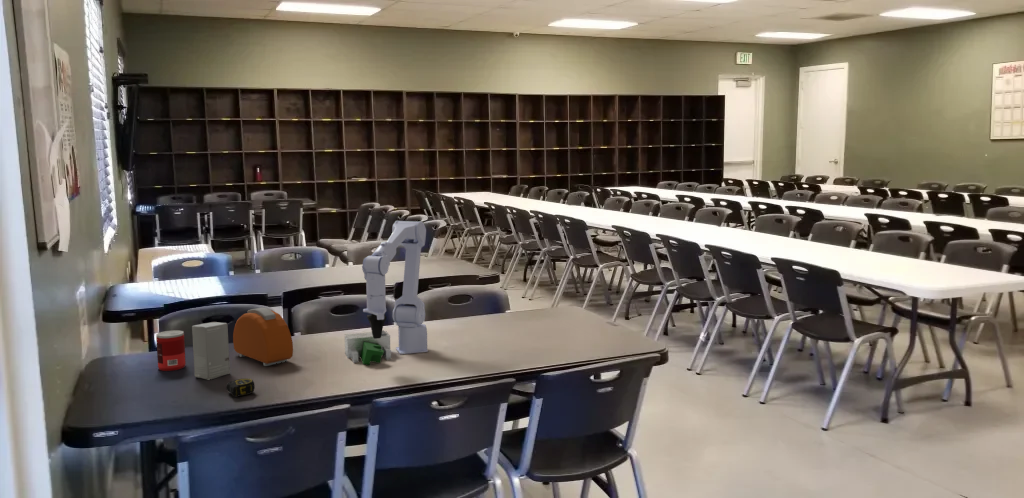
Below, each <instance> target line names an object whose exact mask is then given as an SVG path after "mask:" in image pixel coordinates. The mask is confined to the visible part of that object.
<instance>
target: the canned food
mask: <svg viewBox="0 0 1024 498" xmlns="http://www.w3.org/2000/svg"><path fill="white" fill-rule="evenodd" d="M155 338H156V341H155V342H156V354H157V355H156V357H157V368H158V370H159V371H162V372H172V371H177V370H180V369H181V370H182V369H183V368H185V367H186V364H187V363H186V345H185V343H186V342H185V333H184V330H174V329H173V330H165V331H160V332H158V333H156V335H155Z"/></svg>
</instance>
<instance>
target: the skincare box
mask: <svg viewBox="0 0 1024 498" xmlns="http://www.w3.org/2000/svg"><path fill="white" fill-rule="evenodd" d="M228 327H229V326H228V323H227V322H217V321H211V322H205V323H200V324H195V325H192V326H191V333H192V334H191V335H192V348H193V349H192V351H193V352H192V353H193V369H194V377H195V378H198V379H202V380H203V379H204V380H208V381H210V379H211V380H213V379H216V378H221V377H222V376H226V375H229V374H230V373H231V370H230V369H231V367H230V351H229V350H230V349H229V332H228Z"/></svg>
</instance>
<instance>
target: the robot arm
mask: <svg viewBox="0 0 1024 498" xmlns="http://www.w3.org/2000/svg"><path fill="white" fill-rule="evenodd" d="M391 229H392V231H391V232H392V233H391V235H390V236H389V237H388V239H387V240H386V241H382V242H381V243H380V244H379V245H378V246H377V248H376V249H375V250H374V251H373V253H371V255H368V256H366V257H364V258H363V261H362V265H361V267H362V268H361V269H362V272H363V275H364V280H366V281H365V282H366V283H365V286H366V289H365V290H366V308H363V309H362V312H363V313H367V315H366V318H367V320H368V322H369V325H370V330H371V332H372V335H373V338H374V339H377V338H381V335H382V330H383V328H384V325H385V323H386V320H387V315H386V312H387V308H386V307H387V306H386V303H387V301H386V275H387V273H388V272H389V267H390V264H391V263H390V262H391V261H392V260H393V259H394V257H395V256H396V254H397V248H398V247H399V246H403V248H405V256H404V257H405V259H404V261H405V262H404V272H403V283H402V295H401V296H400V297H399V298H398V299H396V300H395V301H394V302H395V303H394V308H393V310H392V320H393V322H394V323H395V324H396V326H397V328H398V330H397V331H398V346H397V347H395V349H396V351H397V352H398V353H399V354H400V355H407V354H408V355H409V354H418V353H428V352H429V351H428V329H427V326H426V324H425V323H424V322H425V318H426V310H425V302H424V301H423V300H422V299H421V298H420V297H418V291H419V278H420V268H421V267H420V264H421V252H422V248H423V247H425V246H426V245H425V244H426V238H427V237H426V236H427V228H426V226H425V224H424V222H423V221H422V220H421V221H411V220H410V221H407V220H395V221H394V222H393V224H392V228H391Z"/></svg>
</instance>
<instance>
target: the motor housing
mask: <svg viewBox="0 0 1024 498" xmlns="http://www.w3.org/2000/svg"><path fill="white" fill-rule="evenodd" d="M363 342H370V343H375V344H379V345H381V350H383V351H384V353H383V356H382V357H384V359H385V360H386V361H389V360H392V350H391V335H390V333H389V332H387V330H383V329H382V335H381V338H377V339H374V338H373V335H372V331H370V332H359V333H357V332H356V333H347V334H344V354H345V356H346V358H347V359H351V360H352V363H353V364H355V363H359V358H360V356H361V351H362V346H363Z"/></svg>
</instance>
